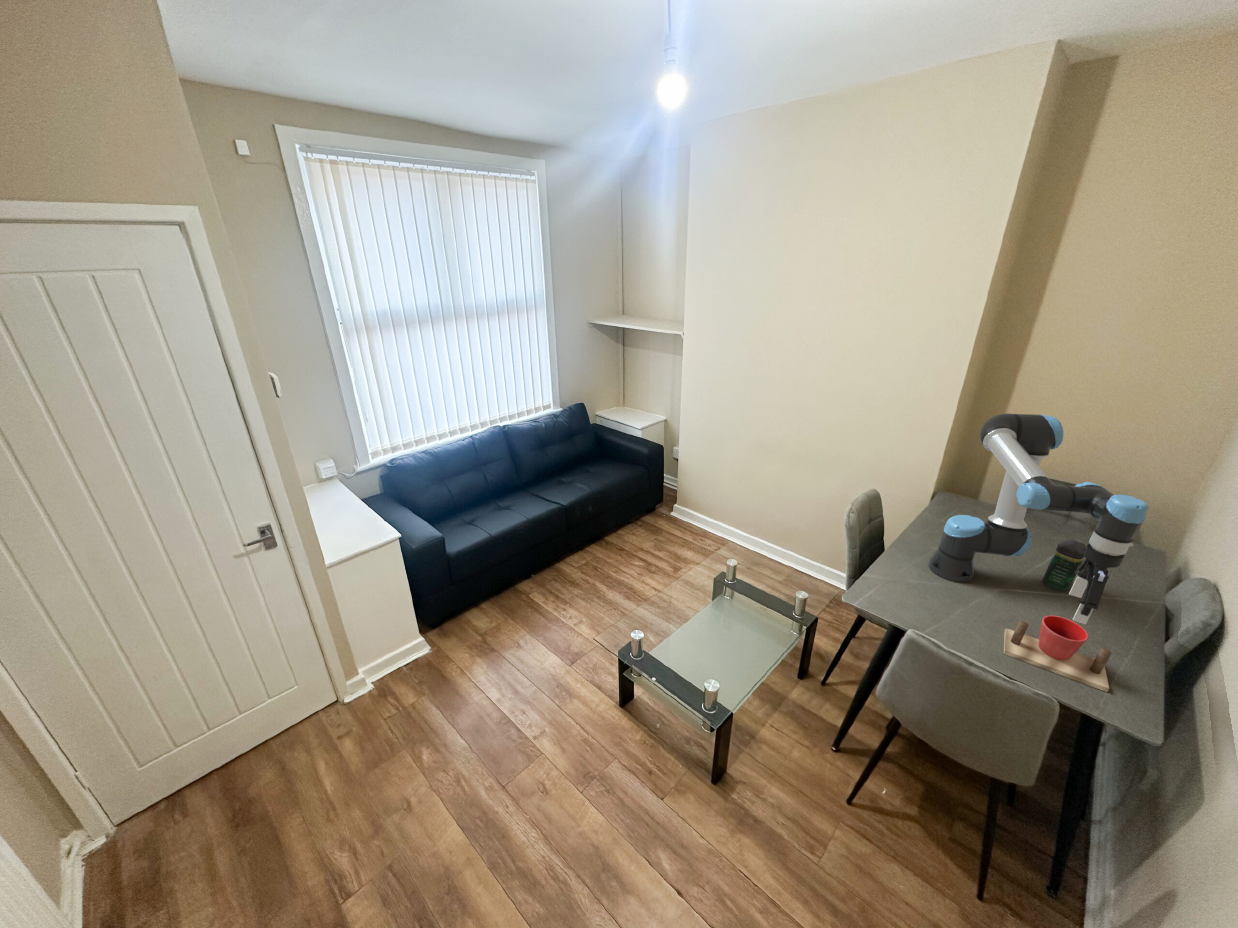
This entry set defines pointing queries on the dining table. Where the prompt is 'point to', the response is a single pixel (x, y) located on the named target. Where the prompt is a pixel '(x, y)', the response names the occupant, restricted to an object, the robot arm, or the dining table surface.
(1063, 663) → the rack
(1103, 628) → the dining table surface
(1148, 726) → the dining table surface
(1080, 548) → the coffee jar
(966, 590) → the dining table surface
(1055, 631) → the flower pot
